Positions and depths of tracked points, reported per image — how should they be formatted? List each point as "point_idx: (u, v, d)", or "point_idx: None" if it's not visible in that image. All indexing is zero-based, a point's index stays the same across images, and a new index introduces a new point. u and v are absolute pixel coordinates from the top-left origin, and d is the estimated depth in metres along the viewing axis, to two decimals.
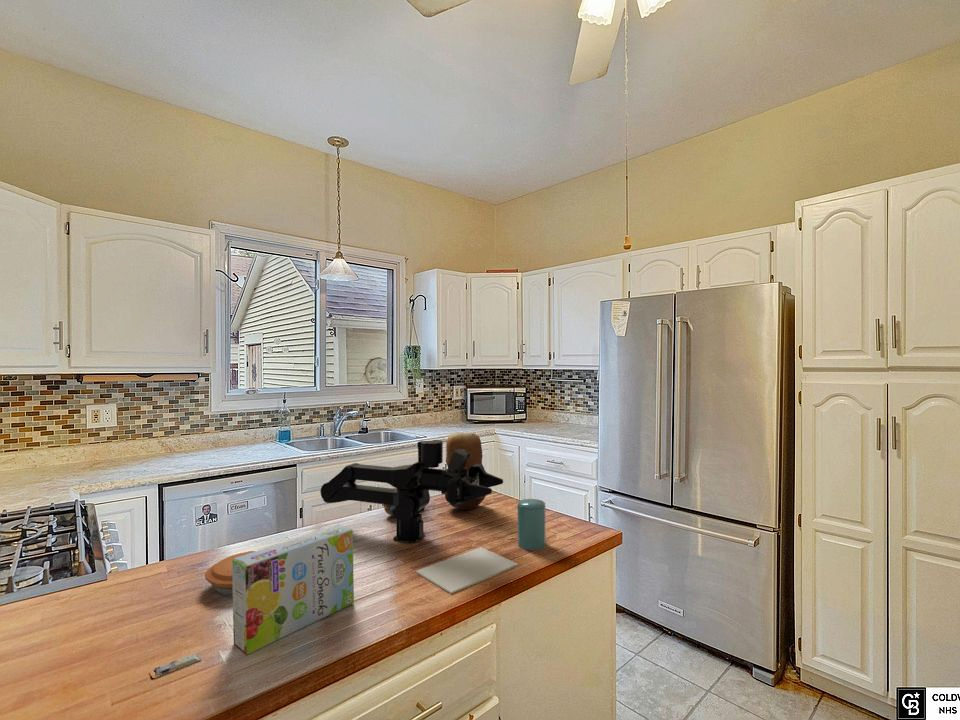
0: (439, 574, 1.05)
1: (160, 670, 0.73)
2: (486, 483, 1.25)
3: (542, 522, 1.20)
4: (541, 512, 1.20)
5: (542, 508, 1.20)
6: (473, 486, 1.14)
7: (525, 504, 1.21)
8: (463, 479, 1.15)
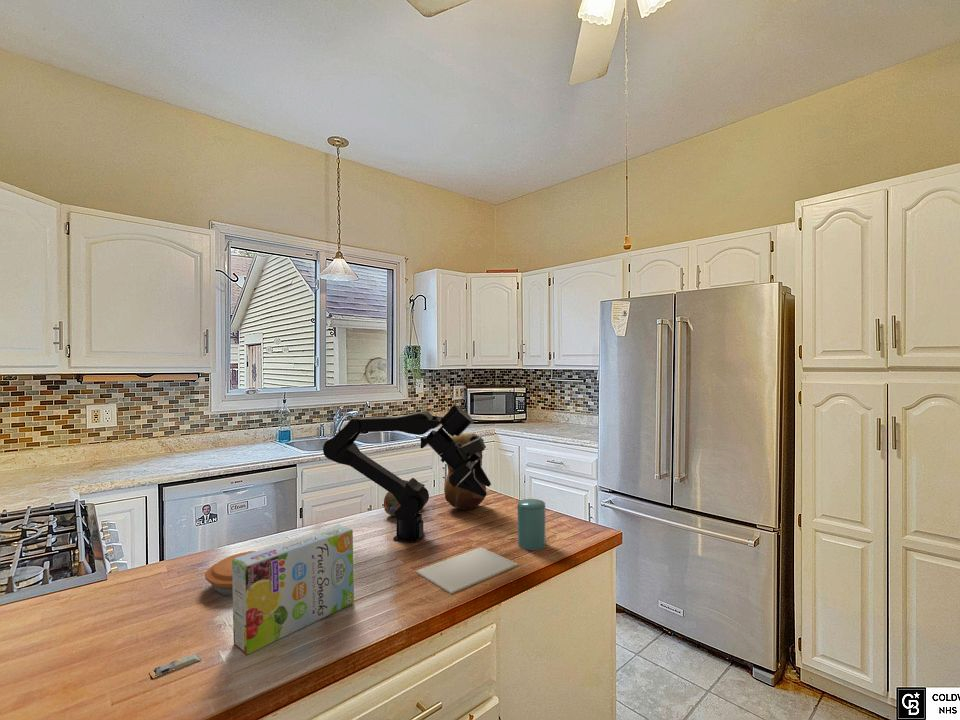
0: (439, 574, 1.05)
1: (160, 670, 0.73)
2: (475, 475, 1.30)
3: (542, 522, 1.20)
4: (541, 512, 1.20)
5: (542, 508, 1.20)
6: (476, 481, 1.19)
7: (525, 504, 1.21)
8: (473, 471, 1.18)
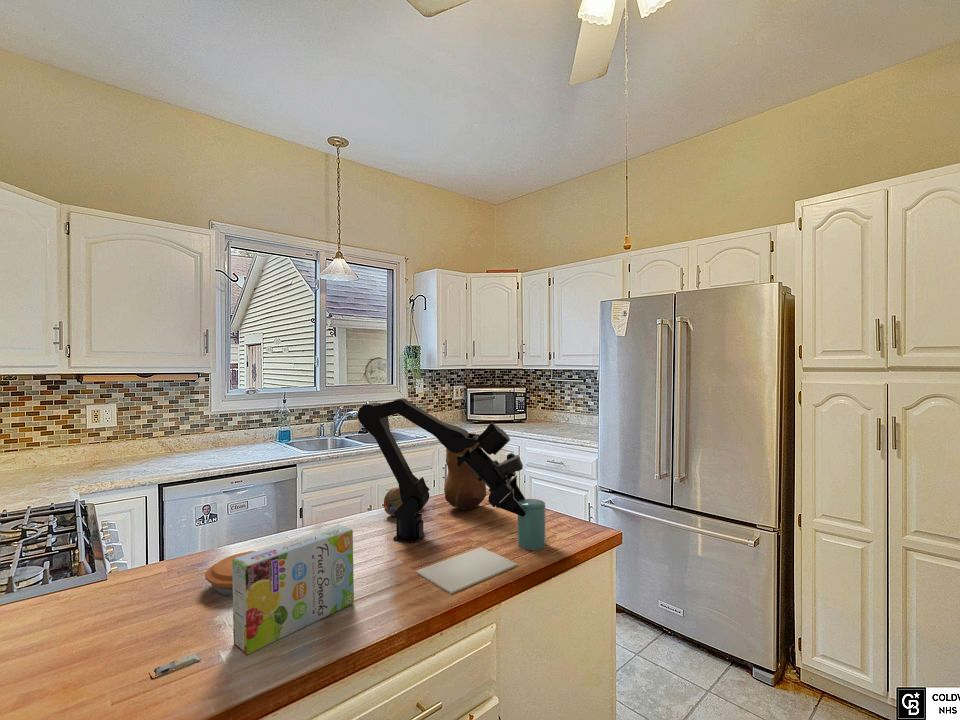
0: (439, 574, 1.05)
1: (160, 670, 0.73)
2: None
3: (542, 522, 1.20)
4: (541, 512, 1.20)
5: (542, 508, 1.20)
6: (515, 501, 1.17)
7: (525, 504, 1.21)
8: (513, 491, 1.17)
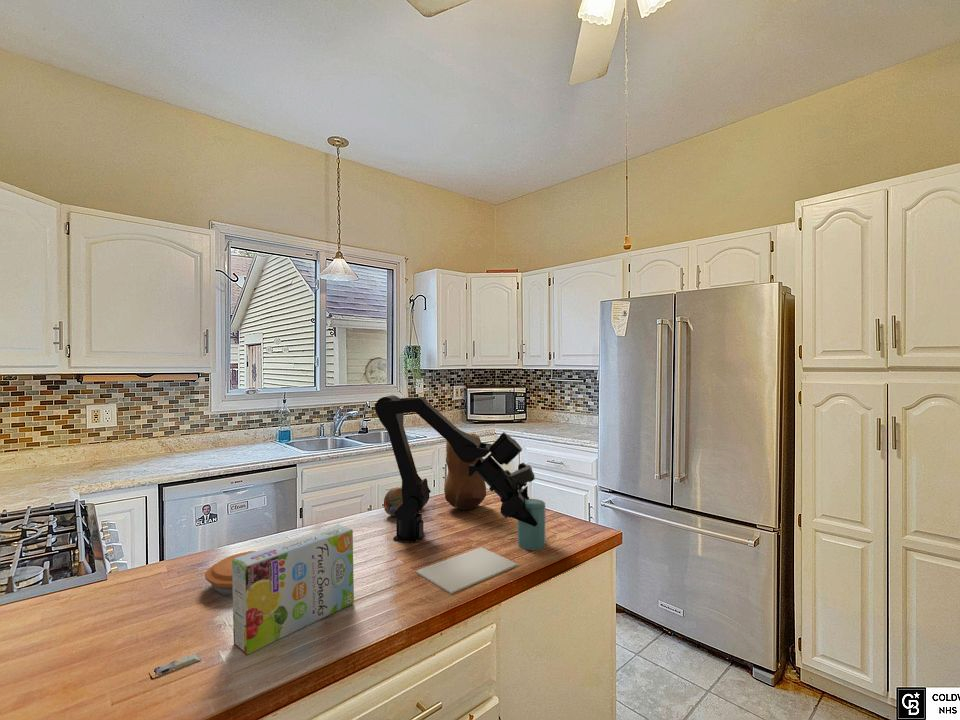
0: (439, 574, 1.05)
1: (160, 670, 0.73)
2: None
3: (542, 522, 1.20)
4: (541, 512, 1.20)
5: (542, 508, 1.20)
6: (527, 511, 1.18)
7: None
8: (525, 501, 1.17)
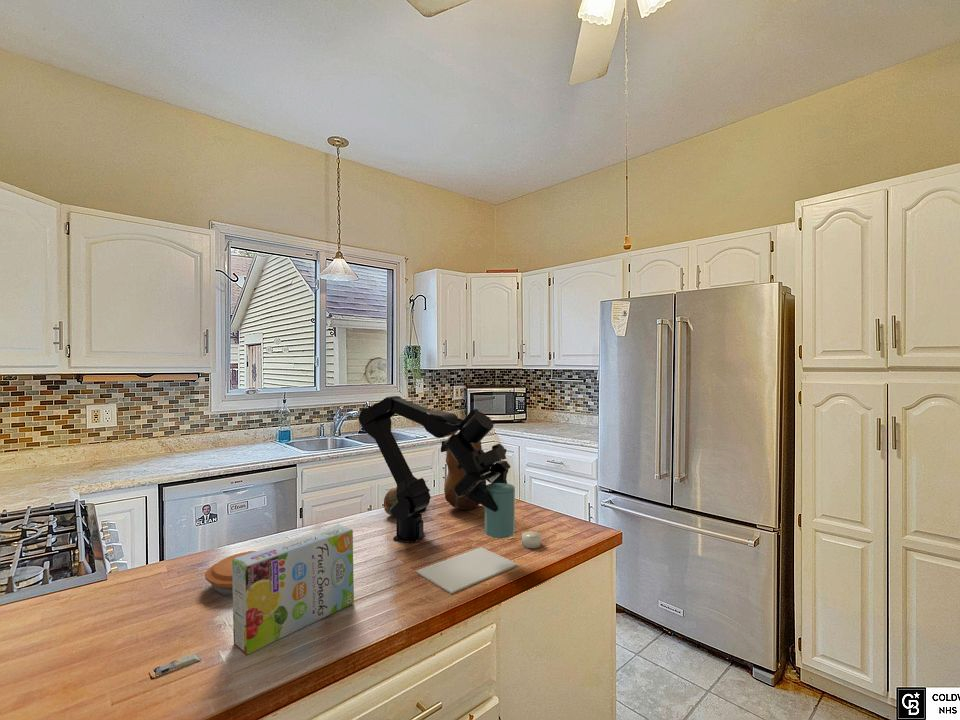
0: (439, 574, 1.05)
1: (160, 670, 0.73)
2: None
3: (506, 509, 1.09)
4: (505, 498, 1.09)
5: (506, 493, 1.09)
6: (485, 494, 1.09)
7: (491, 487, 1.12)
8: (482, 482, 1.08)
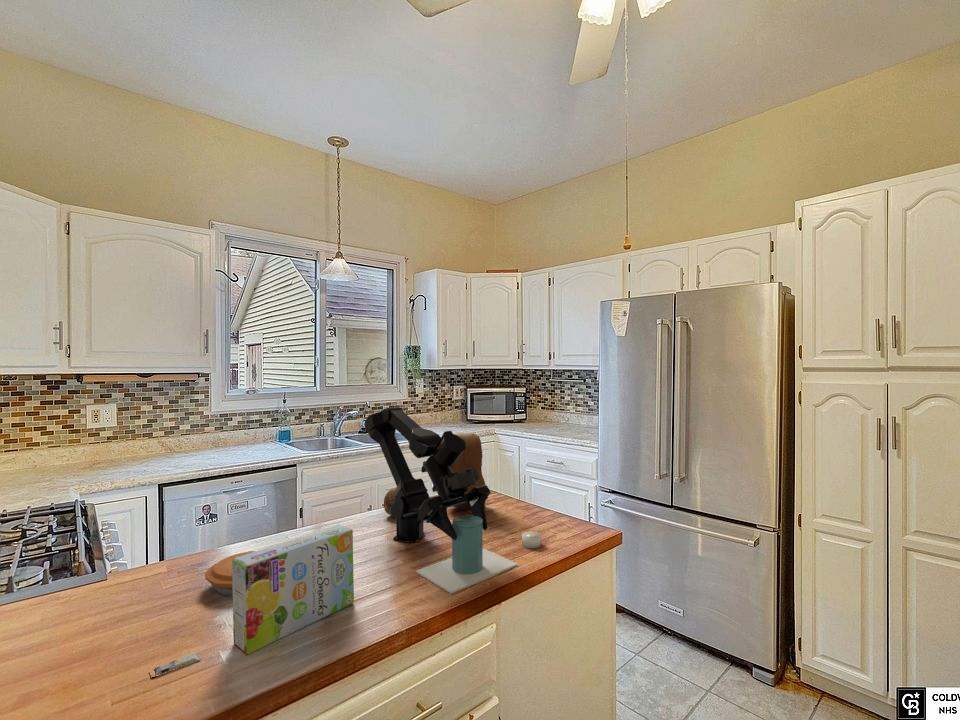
0: (439, 574, 1.05)
1: (160, 670, 0.73)
2: (475, 514, 1.14)
3: (468, 544, 1.05)
4: (467, 532, 1.05)
5: (469, 528, 1.05)
6: (444, 521, 1.05)
7: (458, 520, 1.09)
8: (440, 508, 1.05)
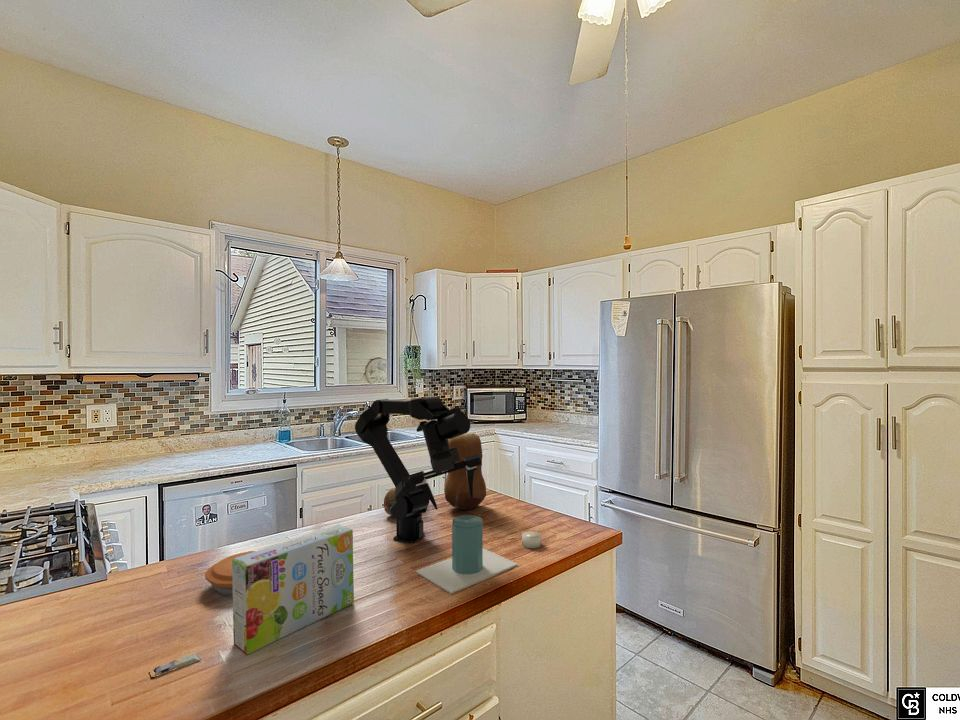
0: (439, 574, 1.05)
1: (160, 669, 0.73)
2: (467, 479, 1.20)
3: (468, 544, 1.05)
4: (467, 532, 1.05)
5: (469, 528, 1.05)
6: (426, 494, 1.17)
7: (458, 520, 1.09)
8: (420, 486, 1.15)
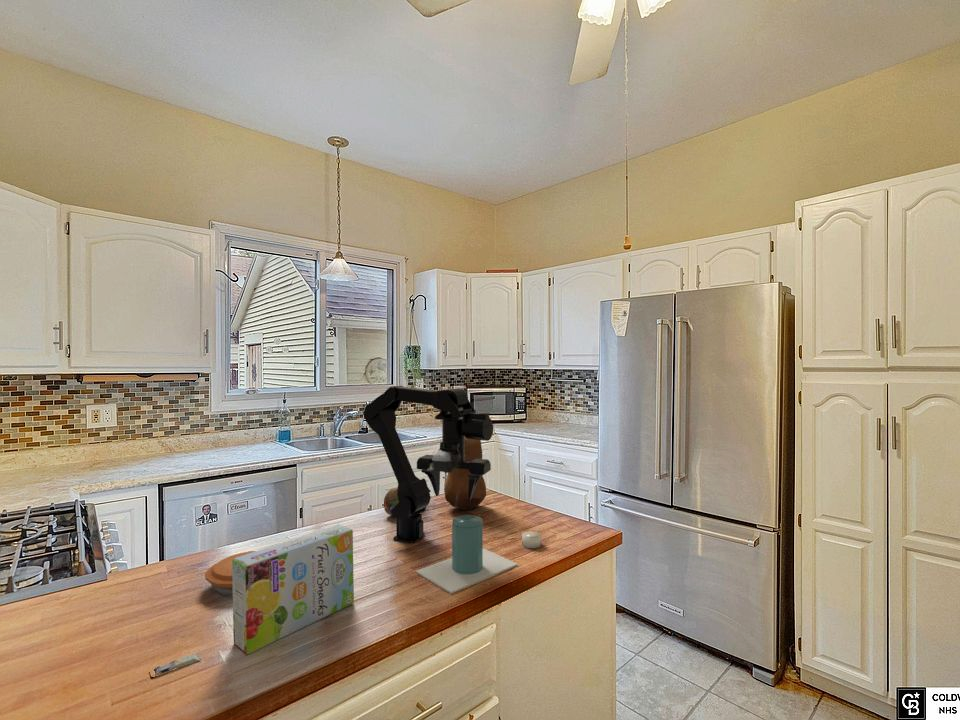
0: (439, 574, 1.05)
1: (160, 669, 0.73)
2: None
3: (468, 544, 1.05)
4: (467, 532, 1.05)
5: (469, 528, 1.05)
6: None
7: (458, 520, 1.09)
8: (425, 472, 1.20)
